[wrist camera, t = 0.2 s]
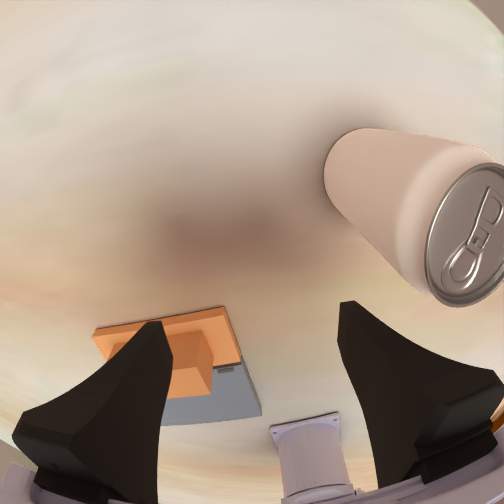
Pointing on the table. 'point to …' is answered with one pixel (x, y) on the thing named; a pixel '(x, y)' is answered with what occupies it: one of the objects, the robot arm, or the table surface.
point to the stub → (184, 348)
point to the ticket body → (217, 399)
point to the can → (424, 209)
